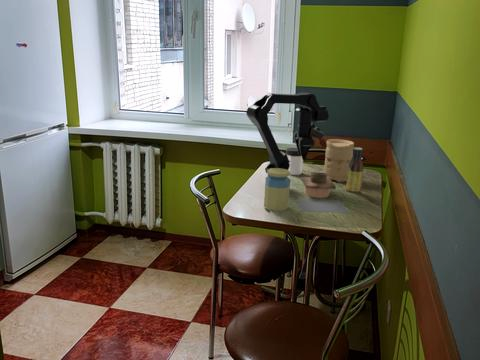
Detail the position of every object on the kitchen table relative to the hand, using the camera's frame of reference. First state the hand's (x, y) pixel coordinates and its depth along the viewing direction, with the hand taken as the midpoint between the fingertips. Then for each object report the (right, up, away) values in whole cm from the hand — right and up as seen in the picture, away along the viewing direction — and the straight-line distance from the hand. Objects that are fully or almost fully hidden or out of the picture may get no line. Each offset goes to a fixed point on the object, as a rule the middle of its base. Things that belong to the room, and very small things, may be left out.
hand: (302, 157), depth 196 cm
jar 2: (-1, -7, +24) cm, 25 cm away
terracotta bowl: (+5, -17, -10) cm, 20 cm away
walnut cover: (+5, -12, -11) cm, 17 cm away
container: (+19, -9, +18) cm, 28 cm away
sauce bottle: (+22, -16, -3) cm, 27 cm away
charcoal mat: (+4, -21, -24) cm, 32 cm away
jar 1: (-14, -21, -27) cm, 37 cm away
